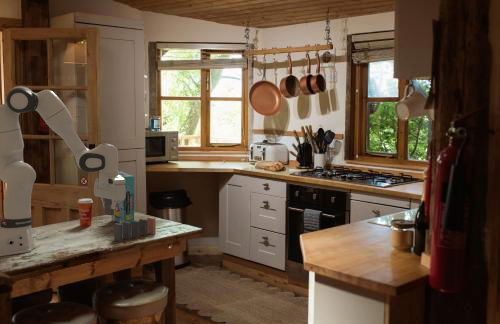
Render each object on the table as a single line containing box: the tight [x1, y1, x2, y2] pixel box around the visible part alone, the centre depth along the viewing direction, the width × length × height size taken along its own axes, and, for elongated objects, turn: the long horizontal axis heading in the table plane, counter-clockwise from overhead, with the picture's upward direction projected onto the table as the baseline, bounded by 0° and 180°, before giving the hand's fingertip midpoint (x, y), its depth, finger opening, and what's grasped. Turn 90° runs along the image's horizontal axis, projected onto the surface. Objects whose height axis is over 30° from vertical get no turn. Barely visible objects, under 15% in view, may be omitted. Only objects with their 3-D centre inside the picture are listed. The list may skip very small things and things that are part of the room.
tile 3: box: [123, 222, 132, 240], centre depth 266 cm, size 2×4×8 cm, turn 49°
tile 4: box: [131, 219, 141, 239], centre depth 269 cm, size 2×4×8 cm, turn 49°
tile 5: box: [138, 218, 149, 237], centre depth 273 cm, size 2×4×8 cm, turn 49°
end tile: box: [146, 216, 157, 235], centre depth 277 cm, size 2×4×8 cm, turn 49°
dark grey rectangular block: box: [104, 198, 114, 216], centre depth 257 cm, size 2×4×8 cm, turn 49°
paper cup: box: [77, 198, 94, 228], centre depth 291 cm, size 8×8×14 cm
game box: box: [111, 171, 135, 226], centre depth 298 cm, size 20×6×27 cm, turn 31°
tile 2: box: [113, 222, 124, 243], centre depth 262 cm, size 2×4×8 cm, turn 49°
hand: (109, 208), depth 257 cm, fingers closed on dark grey rectangular block, 4 cm apart
